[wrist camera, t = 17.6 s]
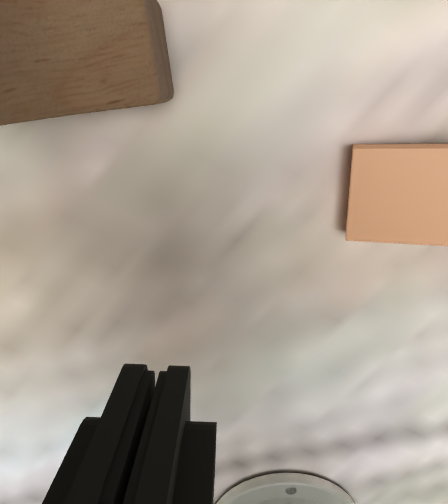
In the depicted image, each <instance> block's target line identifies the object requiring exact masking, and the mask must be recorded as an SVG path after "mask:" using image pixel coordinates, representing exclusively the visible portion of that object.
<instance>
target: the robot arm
mask: <svg viewBox="0 0 448 504" xmlns="http://www.w3.org/2000/svg"><path fill="white" fill-rule="evenodd" d="M190 378H191V371H190V366H168V370H167V371H160V373H159V376H158V379H157V383H156V387H155V373H154V371H148V369H147V365H144V364H124V365H123V367H122V369H121V372H120V374H119V376H118V379H117V381H116V383H115V386H114V388H113V390H112V393H111V395H110V397H109V400H108V402H107V404H106V407H105V409H104V411H103V414H102V416H101V418H100V417H86V418H85V419H84V420H83V421H82V423H81V425H80V427H79V429H78V431H77V433H76V435H75V437H74V439H73V441H72V443H71V445H70V447H69V449H68V451H67V453H66V455H65V457H64V460H63V462H62V464H61V466H60V468H59V470H58V472H57V474H56V476H55V478H54V480H53V482H52V484H51V486H50V488H49V490H48V492H47V495H46V497H45V499H44V501H43V503H42V504H213V498H214V478H215V455H216V427H217V422H194V421H190ZM216 504H355V503H354V501H353V500H352V499H351V497H350V496H349V495H348V494H347V493H346V492H345V491H344V490H342V489H341V488H340V487H338V486H337V485H335V484H333V483H331V482H330V481H327V480H324V479H322V478H319V477H316V476H312V475H307V474H301V473H275V474H268V475H263V476H259V477H255V478H253V479H250V480H247V481H244V482H242V483H241V484H239V485H237V486H235V487H234V488H232V489H230V490H229V491H228V492H227V493H226V494H224V495H223V496H222V497H221V498H220V500H219V501H218V502H217V503H216Z"/></svg>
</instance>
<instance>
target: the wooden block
mask: <svg viewBox="0 0 448 504" xmlns="http://www.w3.org/2000/svg"><path fill="white" fill-rule="evenodd" d="M173 93H174V91H173V84H172V78H171V71H170V64H169V58H168V51H167V44H166V38H165V31H164V24H163V18H162V11H161V7H160V5H159V4H158V2H157V0H0V126H1V125H7V124H14V123H20V122H27V121H33V120H40V119H46V118H54V117H61V116H68V115H76V114H83V113H90V112H98V111H106V110H114V109H122V108H130V107H138V106H146V105H154V104H159V103H163V102H167V101H169V100H170V99H172V97H173Z"/></svg>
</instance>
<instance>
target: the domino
mask: <svg viewBox="0 0 448 504" xmlns="http://www.w3.org/2000/svg"><path fill="white" fill-rule="evenodd" d="M346 240H348V241H366V242H384V243H402V244H420V245H439V246H448V144H353V148H352V160H351V172H350V184H349V197H348V209H347V221H346Z"/></svg>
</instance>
